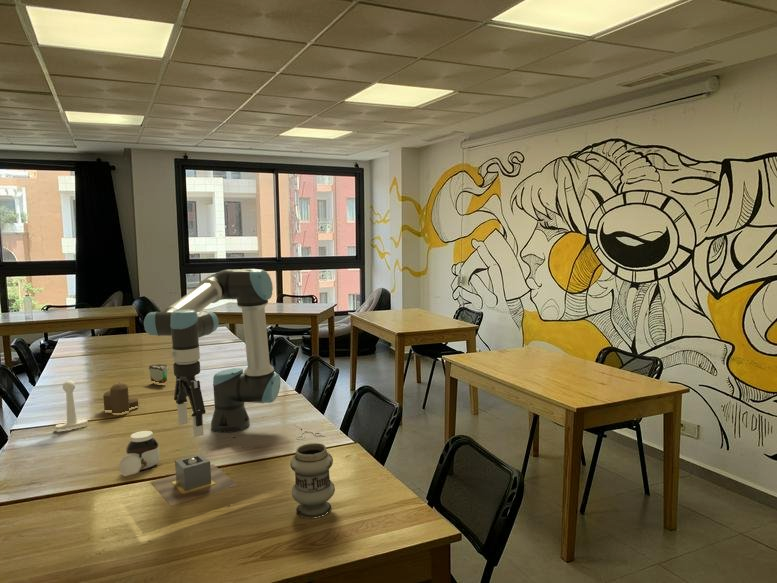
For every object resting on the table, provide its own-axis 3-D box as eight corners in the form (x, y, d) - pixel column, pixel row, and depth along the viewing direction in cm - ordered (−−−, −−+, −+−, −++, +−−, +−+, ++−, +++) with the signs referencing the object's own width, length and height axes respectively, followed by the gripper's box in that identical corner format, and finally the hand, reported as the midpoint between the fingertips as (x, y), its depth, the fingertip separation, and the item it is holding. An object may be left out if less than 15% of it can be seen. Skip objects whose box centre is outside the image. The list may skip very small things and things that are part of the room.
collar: (176, 482, 168) (174, 460, 167) (201, 474, 173) (200, 453, 172) (185, 491, 162) (183, 468, 161) (211, 483, 167) (210, 461, 166)
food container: (174, 384, 288) (173, 365, 287) (164, 386, 282) (163, 368, 281) (159, 381, 294) (158, 362, 293) (149, 383, 289) (148, 365, 288)
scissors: (298, 441, 204) (284, 424, 222) (298, 443, 204) (284, 426, 222) (325, 436, 208) (309, 419, 226) (325, 437, 209) (309, 421, 226)
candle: (137, 413, 240) (135, 380, 239) (103, 418, 235) (100, 384, 233) (138, 405, 253) (136, 373, 251) (105, 409, 247) (103, 377, 246)
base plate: (150, 486, 169) (150, 481, 169) (213, 468, 182) (212, 463, 181) (171, 511, 154) (170, 505, 153) (238, 489, 166) (237, 484, 166)
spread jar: (160, 460, 189) (158, 428, 187) (159, 474, 178) (157, 439, 177) (122, 466, 184) (119, 433, 183) (118, 480, 174) (116, 445, 173)
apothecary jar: (283, 510, 153) (281, 448, 151) (317, 495, 162) (316, 436, 160) (309, 525, 145) (306, 460, 143) (344, 509, 153) (342, 447, 151)
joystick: (57, 433, 217) (53, 384, 215) (55, 428, 223) (51, 380, 221) (88, 427, 224) (84, 379, 222) (85, 422, 230) (82, 376, 228)
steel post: (187, 483, 168) (185, 458, 167) (196, 480, 170) (195, 455, 169) (190, 486, 165) (189, 461, 165) (200, 483, 167) (198, 458, 166)
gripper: (160, 356, 171) (165, 422, 173) (188, 371, 151) (192, 444, 154) (184, 353, 175) (188, 416, 178) (214, 366, 156) (218, 438, 158)
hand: (190, 429), depth 166 cm, fingers open, 13 cm apart
